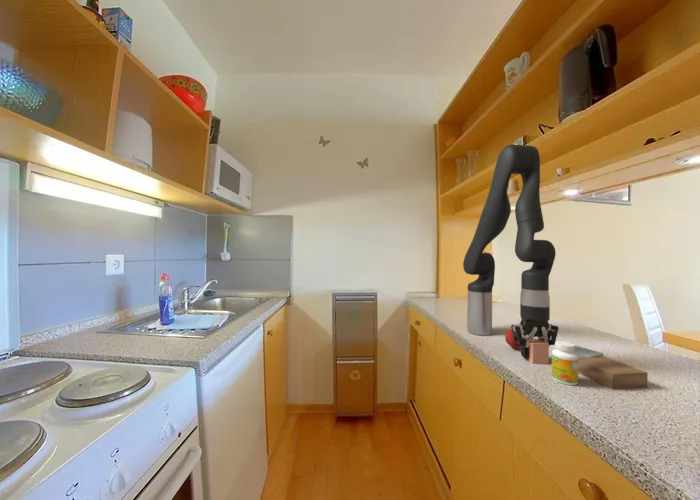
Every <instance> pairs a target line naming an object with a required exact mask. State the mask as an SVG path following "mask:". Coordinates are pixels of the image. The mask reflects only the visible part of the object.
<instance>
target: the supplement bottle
mask: <svg viewBox="0 0 700 500" xmlns="http://www.w3.org/2000/svg"><path fill="white" fill-rule="evenodd" d="M575 346H576V345H575V344H574V343H571V342H568V341H563V340H556V342H555V345H554V348H555V349H553V350H552V351H551V378H552V379H553V380H554V381H555V382H558V383H560V384H564V385H566V386H576V385H578V383H579V373H578V356H577V354H576V353H574V352H573V351H575Z"/></svg>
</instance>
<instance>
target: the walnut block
mask: <svg viewBox="0 0 700 500" xmlns="http://www.w3.org/2000/svg"><path fill="white" fill-rule="evenodd" d="M578 375H581V376H583V377H586V378H588V379H589V380H591V381H594V382H596V383H598V384H600V385H603V386H605V387H606V388H609V389H610V390H624V389H639V388H648V385H649V384H648V376H649V375H648V372H647V371H645V370H641V369H639V368H636V367H633V366H631V365H629V364H628V365H627V364H625V363H623V362H620V361H617V360H615V359H612V358H609V357H607V356H604V357H585V358H578Z"/></svg>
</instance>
